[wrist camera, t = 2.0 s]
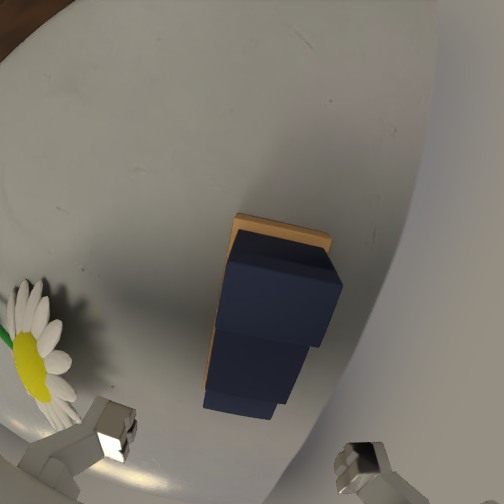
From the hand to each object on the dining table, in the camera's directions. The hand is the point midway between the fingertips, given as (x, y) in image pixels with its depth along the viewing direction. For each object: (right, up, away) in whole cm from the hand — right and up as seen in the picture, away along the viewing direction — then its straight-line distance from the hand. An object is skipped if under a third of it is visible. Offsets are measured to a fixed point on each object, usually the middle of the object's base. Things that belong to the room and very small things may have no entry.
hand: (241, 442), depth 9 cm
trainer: (+1, +3, +8) cm, 9 cm away
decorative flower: (-24, +4, +10) cm, 26 cm away
